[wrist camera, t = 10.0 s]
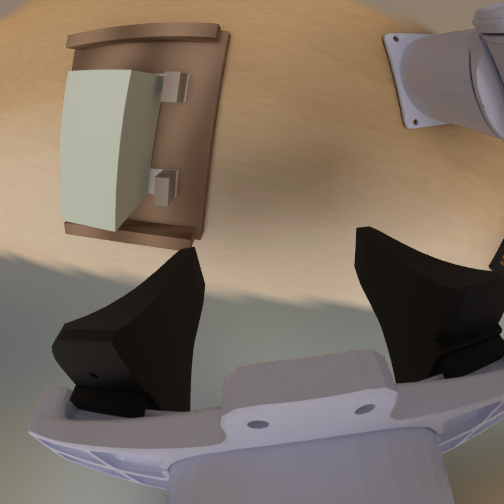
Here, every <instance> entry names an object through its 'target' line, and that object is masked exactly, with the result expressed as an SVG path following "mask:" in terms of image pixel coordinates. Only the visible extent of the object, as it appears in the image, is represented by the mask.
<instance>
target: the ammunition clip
mask: <svg viewBox="0 0 504 504" xmlns="http://www.w3.org/2000/svg"><path fill="white" fill-rule="evenodd" d="M489 268H490V269H491V270H492V271H495V272H499V273H500V274H501V275H502V276H503V277H504V239H503V241H502V243H501V245H500V247H499V249H498V251H497V252H496V254H495V256H494V258H493V260H492V261H491V263H490V265H489Z"/></svg>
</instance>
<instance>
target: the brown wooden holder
mask: <svg viewBox="0 0 504 504" xmlns="http://www.w3.org/2000/svg"><path fill="white" fill-rule="evenodd" d="M229 40H230V33H229V32H228V31H221V28H220V26H219V24H214V23H151V24H137V25H127V26H119V27H111V28H104V29H98V30H93V31H87V32H82V33H77V34H73V35H69V36H68V38H67V43H66V48H70V49H75V53H74V59H73V66H72V71H80V70H135V71H140V72H146V73H151V74H156V75H160V76H164V82H163V89H162V97H161V104H160V109H159V115H158V121H157V127H156V133H155V139H154V146H153V153H152V161H151V169H150V178H149V187H148V196H147V197H146V198H145V199H144V200H143V201H142V203H141V204H140V205H139V206H138V207H137V208H136V209H135V210H134V211H133V212H132V213H131V215H130V216H129V217H128V218H127V219H126V220H125V221H124V222H123V223H122V225H121V226H120V227H119V228H118V229H117V230H116V232H114V231H109V230H104V229H100V228H95V227H90V226H86V225H81V224H76V223H72V222H67V221H66V222H65V223H64V226H65V232H66V234H71V235H77V236H84V237H91V238H97V239H104V240H111V241H117V242H124V243H131V244H138V245H145V246H151V247H158V248H165V249H172V250H181V249H183V248H190V247H192V244H193V242H194V239H197V240H201V237H202V234H203V226H204V215H205V205H206V196H207V187H208V178H209V169H210V161H211V153H212V145H213V138H214V131H215V123H216V117H217V110H218V103H219V97H220V91H221V85H222V79H223V73H224V67H225V61H226V56H227V50H228V45H229Z"/></svg>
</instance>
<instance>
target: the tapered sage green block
mask: <svg viewBox="0 0 504 504" xmlns="http://www.w3.org/2000/svg"><path fill="white" fill-rule="evenodd" d="M163 82H164V76H160V75H156V74H151V73H146V72H140V71H135V70H80V71H68V77H67V83H66V89H65V96H64V104H63V113H62V124H61V139H60V205H61V220H63V221H67V222H72V223H76V224H81V225H86V226H90V227H95V228H100V229H104V230H109V231H114V232H116V230H117V229H118V228H119V227H120V226H121V225H122V223H123V222H124V221H125V220H126V219H127V218H128V217H129V216H130V215H131V213H132V212H133V211H134V210H135V209H136V208H137V207H138V206H139V205H140V204H141V203H142V201H143V200H144V199H145V198H146V197H147V196H148V187H149V178H150V169H151V161H152V153H153V146H154V139H155V133H156V127H157V121H158V115H159V109H160V104H161V97H162V89H163Z"/></svg>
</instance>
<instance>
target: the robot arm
mask: <svg viewBox="0 0 504 504" xmlns="http://www.w3.org/2000/svg"><path fill="white" fill-rule="evenodd" d="M472 23H473V25H474V26H475V28H476V29H471V30H464V31H457V32H450V33H445V34H439V35H433V34H414V33H388V34H385V35H384V36H383V41H384V44H385V47H386V50H387V54H388V57H389V61H390V64H391V68H392V72H393V75H394V79H395V83H396V88H397V92H398V97H399V101H400V106H401V111H402V116H403V122H404V125H405V127H406V128H408V129H415V128H422V127H429V126H436V125H444V124H454V125H458V126H462V127H465V128H468V129H472V130H475V131H478V132H481V133H484V134H487V135H490V136H493V137H496V138H499V139H501V140H503V141H504V3H499V4H494V5H491V6H487V7H483V8H480V9H478V10H476V13H475V18H474V19H473V21H472ZM393 37H395V38H396V40H397V41H396V42H395V41H394V40H393ZM414 120H416V124H415V125H414V124H413V121H414ZM354 267H355V270H356V273H357V276H358V279H359V281H360V284H361V286H362V288H363V290H364V292H365V294H366V296H367V298H368V300H369V302H370V304H371V306H372V308H373V310H374V312H375V314H376V316H377V318H378V321H379V323H380V326H381V328H382V331H383V334H384V337H385V341H386V344H387V347H388V351H389V355H390V358H391V362H392V367H393V371H394V376H395V381H396V383H394V381H393V378H392V375H391V372H390V370H389V368H388V365H387V362H386V359H385V357H384V356H383V355H381V354H379V353H377V352H376V351H374V350H349V351H343V352H337V353H331V354H325V355H319V356H311V357H304V358H296V359H288V360H279V361H269V362H259V363H254V364H250V365H246V366H241V367H238V368H237V369H235V370H234V371H233V372H231V373H230V374H229V375H227V376H226V377H225V378H224V386H223V399H222V405H221V406H216V407H211V408H206V409H200V410H194V411H190V392H191V370H192V358H193V348H194V342H195V338H196V333H197V329H198V325H199V320H200V316H201V311H202V307H203V302H204V292H205V282H204V279H203V275H202V271H201V268H200V264H199V261H198V257H197V253H196V249H195V247H190V248H183V249H181V250H179V251H178V252H177V253H176V254H175V255H173V256H172V257H171V258H170V259H169V260H168V261H167V262H166V263H165V264H164V265H162V266H161V267H160V268H159V269H158V270H157V271H156V272H155V273H153V274H152V275H151V276H150V277H149V278H147V279H146V280H145V281H144V282H143V283H141V284H140V285H139V286H138V287H136V288H135V289H133V290H132V291H131V292H129V293H128V294H126V295H125V296H123V297H122V298H120V299H118V300H116V301H115V302H113V303H111V304H110V305H108V306H106V307H104V308H102V309H100V310H98V311H96V312H94V313H91V314H89V315H87V316H85V317H82V318H79V319H76V320H74V321H71V322H68V323H65V324H64V326H63V328H62V329H61V331H60V333H59V334H58V336H57V338H56V340H55V341H54V343H53V345H52V352H53V355H54V357H55V360H56V361H57V362H58V364H59V365H60V366H61V368H62V369H63V370H64V371H65V373H66V374H67V375H68V376H69V377H70V378H71V380H72V381H73V382H74V383H75V384H76V386H75V388H74V391H72V390H71V389H69V388H67V387H63V386H58V385H53V384H48V385H47V387H46V389H45V391H44V393H43V395H42V397H41V400H40V402H39V405H38V407H37V409H36V411H35V414H34V416H33V419H32V421H31V423H30V426H29V429H28V432H29V434H31V435H32V436H33V437H35V438H36V439H37V440H39V441H40V442H41V443H43V444H44V445H45V446H47V447H48V448H50V449H51V450H52V451H54V452H55V453H57V454H58V455H60V456H62V457H63V458H64V459H66V460H68V461H71V462H74V463H77V464H79V465H82V466H85V467H88V468H90V469H93V470H97V471H99V472H103V473H105V474H108V475H111V476H115V477H118V478H121V479H125V480H128V481H132V482H135V483H139V484H143V485H148V486H152V487H156V488H160V489H165V490H167V495H166V503H165V504H454V500H453V496H452V492H451V488H450V484H449V480H448V476H447V473H446V470H445V466H444V462H443V459H442V456H441V454H443V453H445V452H447V451H449V450H451V449H453V448H455V447H456V446H458V445H460V444H462V443H464V442H466V441H467V440H469V439H471V438H472V437H474V436H476V435H478V434H479V433H481V432H482V431H484V430H486V429H487V428H489V427H490V426H492V425H493V424H495V423H497V422H498V421H500V420H501V419H503V418H504V340H503V339H502V337H501V336H500V335H499V334H501V332H502V328H501V327H500V325H499V324H498V323H499V321H500V319H501V317H502V315H503V313H504V277H503V276H502V275H501V274H500V273H499V272H495V271H486V270H478V269H473V268H468V267H463V266H459V265H455V264H452V263H449V262H445V261H442V260H439V259H436V258H434V257H431V256H429V255H426V254H424V253H421V252H419V251H417V250H415V249H413V248H411V247H409V246H407V245H405V244H403V243H401V242H399V241H397V240H395V239H393V238H392V237H390V236H388V235H386V234H384V233H382V232H380V231H378V230H376V229H374V228H372V227H369V226H368V227H359V228H356V249H355V265H354Z"/></svg>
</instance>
